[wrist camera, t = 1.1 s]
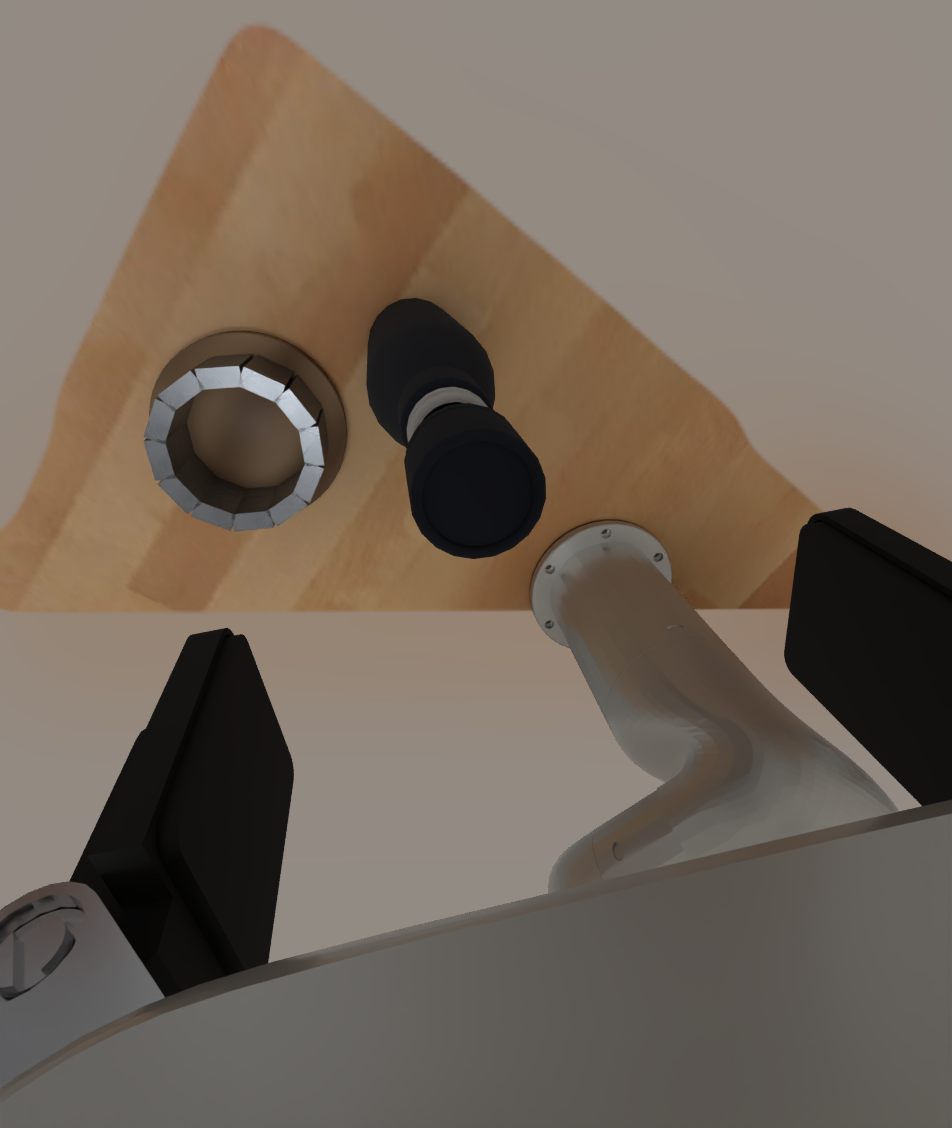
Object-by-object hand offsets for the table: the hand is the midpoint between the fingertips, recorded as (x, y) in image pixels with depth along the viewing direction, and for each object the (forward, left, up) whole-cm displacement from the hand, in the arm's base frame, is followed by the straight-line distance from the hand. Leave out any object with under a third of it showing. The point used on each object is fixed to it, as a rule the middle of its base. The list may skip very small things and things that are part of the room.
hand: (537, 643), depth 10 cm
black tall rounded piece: (0, 0, -38) cm, 38 cm away
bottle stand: (+8, +10, -38) cm, 40 cm away
